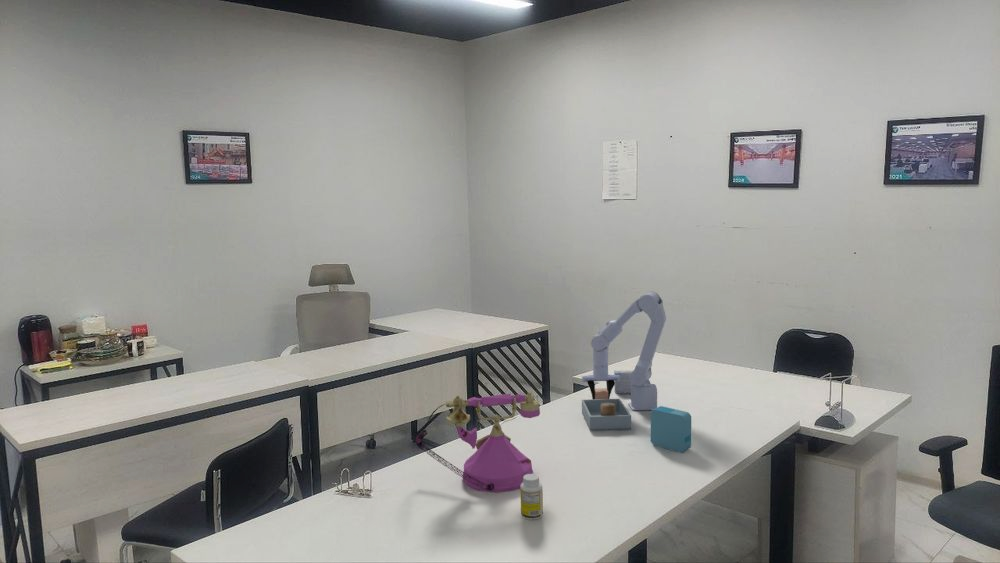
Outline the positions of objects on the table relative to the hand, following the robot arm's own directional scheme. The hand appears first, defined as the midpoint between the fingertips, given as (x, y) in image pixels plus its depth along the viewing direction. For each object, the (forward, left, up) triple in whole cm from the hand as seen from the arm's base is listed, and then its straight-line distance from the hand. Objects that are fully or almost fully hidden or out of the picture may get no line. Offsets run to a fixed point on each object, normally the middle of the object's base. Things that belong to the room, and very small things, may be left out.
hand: (600, 399), depth 250 cm
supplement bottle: (+33, +89, -2) cm, 95 cm away
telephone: (+46, +67, -2) cm, 81 cm away
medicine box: (-12, -13, -2) cm, 18 cm away
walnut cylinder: (+2, +26, -1) cm, 26 cm away
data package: (-14, +47, -2) cm, 49 cm away
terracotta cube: (0, 0, -1) cm, 1 cm away
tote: (+2, +21, -1) cm, 21 cm away
